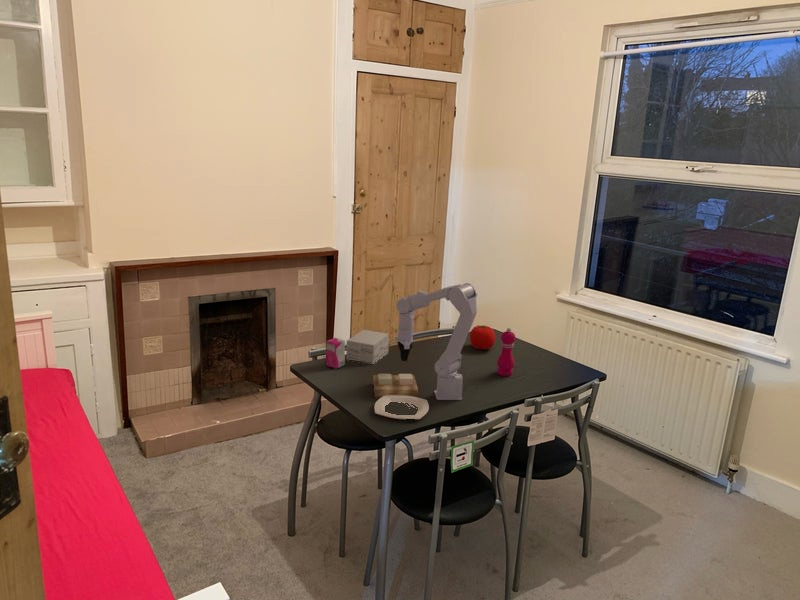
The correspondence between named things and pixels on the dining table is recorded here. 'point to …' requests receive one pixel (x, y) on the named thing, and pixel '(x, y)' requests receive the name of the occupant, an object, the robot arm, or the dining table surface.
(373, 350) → the supplement box
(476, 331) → the tomato
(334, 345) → the supplement box
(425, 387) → the dining table surface
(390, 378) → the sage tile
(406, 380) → the white tile
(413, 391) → the oak board
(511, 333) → the pepper mill
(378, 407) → the pale beige plate
